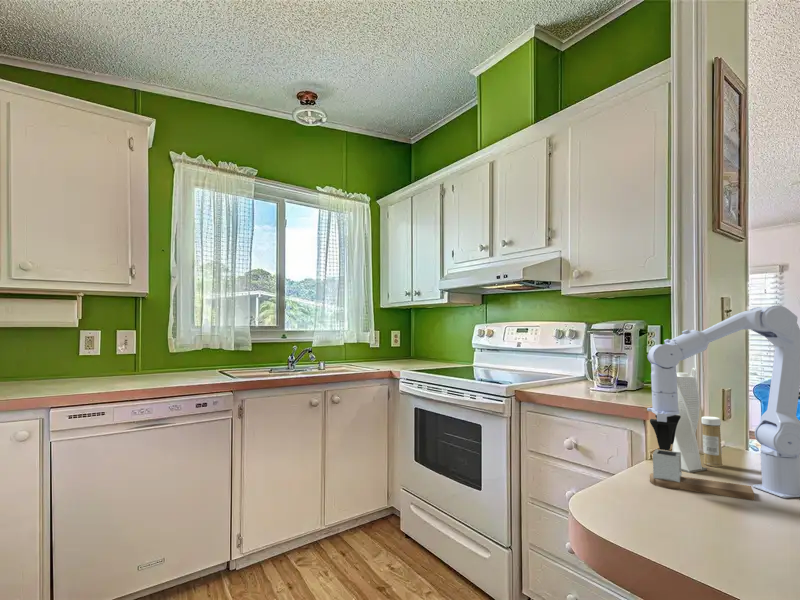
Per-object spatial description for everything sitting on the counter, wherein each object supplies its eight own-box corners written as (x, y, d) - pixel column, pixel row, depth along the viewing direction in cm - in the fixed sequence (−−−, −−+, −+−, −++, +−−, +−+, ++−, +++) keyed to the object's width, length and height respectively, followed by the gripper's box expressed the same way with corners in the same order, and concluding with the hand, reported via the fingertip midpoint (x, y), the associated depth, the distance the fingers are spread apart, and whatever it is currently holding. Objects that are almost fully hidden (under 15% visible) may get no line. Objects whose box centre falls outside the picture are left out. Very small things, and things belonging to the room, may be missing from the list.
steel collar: (656, 472, 120) (655, 449, 120) (681, 476, 116) (680, 452, 117) (653, 478, 115) (652, 453, 115) (679, 482, 112) (678, 457, 112)
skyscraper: (711, 471, 126) (707, 367, 128) (691, 474, 123) (687, 368, 125) (682, 463, 134) (678, 365, 135) (662, 466, 130) (659, 366, 132)
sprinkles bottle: (725, 465, 131) (723, 417, 132) (718, 468, 128) (716, 419, 129) (707, 462, 135) (705, 415, 136) (700, 464, 132) (698, 416, 133)
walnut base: (750, 491, 110) (749, 471, 111) (755, 501, 103) (754, 481, 104) (650, 476, 121) (650, 459, 121) (648, 485, 114) (648, 466, 115)
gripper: (651, 387, 125) (652, 438, 124) (642, 393, 114) (644, 450, 113) (681, 389, 121) (683, 442, 120) (675, 396, 109) (677, 454, 109)
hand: (666, 446), depth 116 cm, fingers open, 7 cm apart
